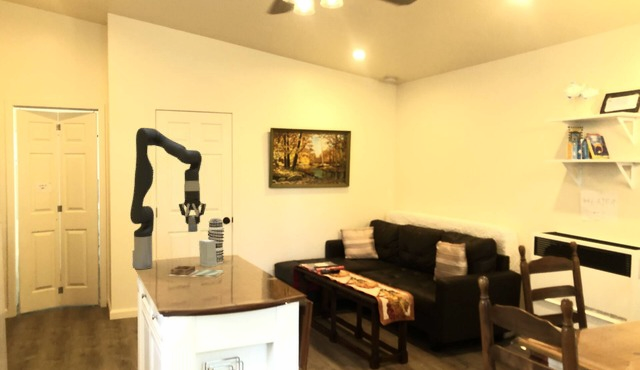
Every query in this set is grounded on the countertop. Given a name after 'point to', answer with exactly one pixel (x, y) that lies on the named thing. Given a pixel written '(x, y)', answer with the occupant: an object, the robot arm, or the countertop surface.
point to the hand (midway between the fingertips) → (192, 223)
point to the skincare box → (207, 253)
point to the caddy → (193, 272)
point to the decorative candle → (217, 237)
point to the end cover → (192, 223)
